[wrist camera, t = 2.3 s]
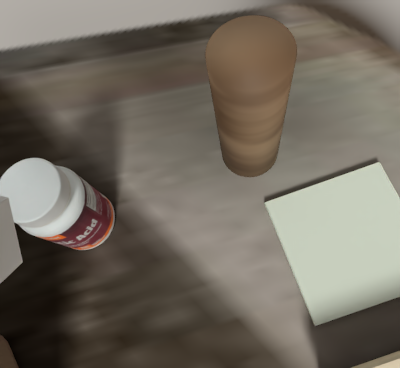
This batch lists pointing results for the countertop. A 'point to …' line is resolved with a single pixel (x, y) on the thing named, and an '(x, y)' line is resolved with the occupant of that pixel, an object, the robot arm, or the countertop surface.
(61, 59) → the countertop surface
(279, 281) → the countertop surface
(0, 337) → the wooden block
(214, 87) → the walnut roller
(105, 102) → the countertop surface
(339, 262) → the mat
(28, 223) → the pill bottle
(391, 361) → the birch slab
